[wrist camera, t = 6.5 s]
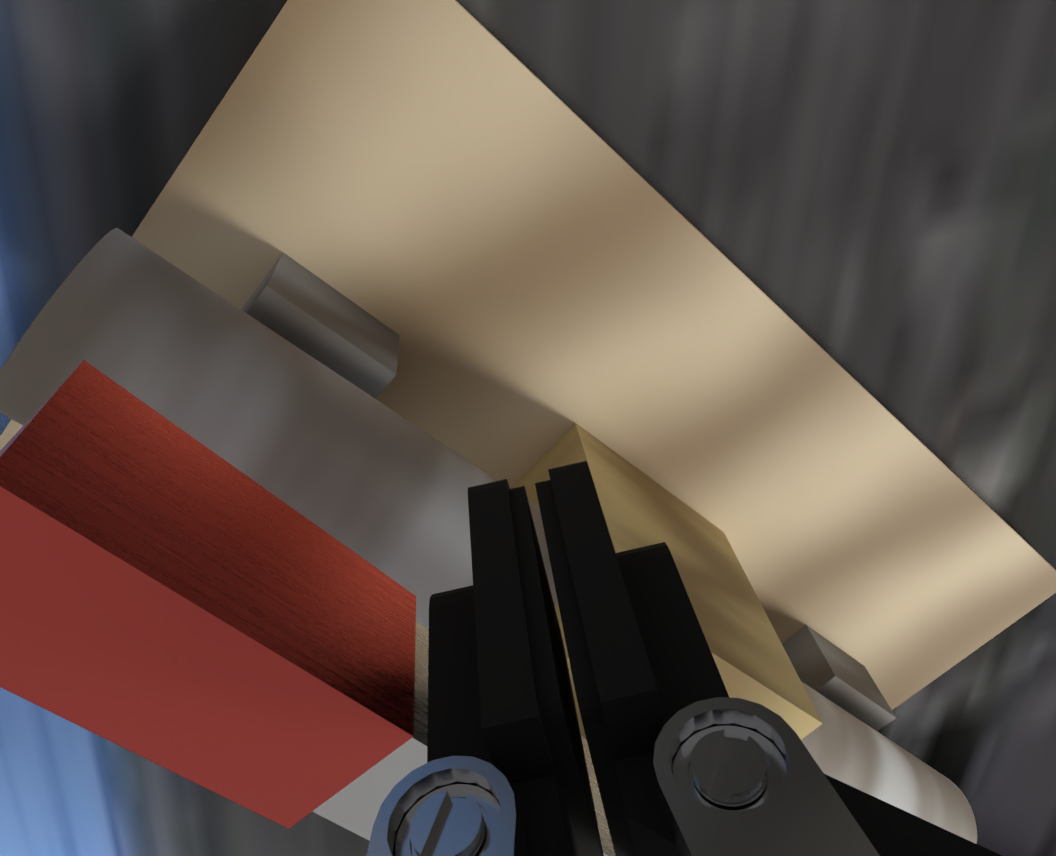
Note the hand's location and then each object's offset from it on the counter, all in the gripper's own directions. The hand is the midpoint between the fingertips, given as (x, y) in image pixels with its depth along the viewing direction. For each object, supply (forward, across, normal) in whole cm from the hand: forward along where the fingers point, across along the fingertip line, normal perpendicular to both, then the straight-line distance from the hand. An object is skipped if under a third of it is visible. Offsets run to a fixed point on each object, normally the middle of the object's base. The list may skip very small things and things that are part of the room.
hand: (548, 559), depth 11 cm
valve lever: (0, +2, +2) cm, 3 cm away
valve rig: (+10, -1, +7) cm, 12 cm away
